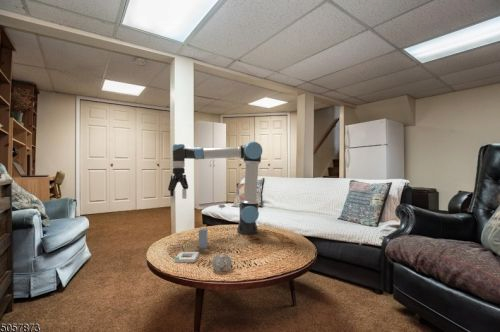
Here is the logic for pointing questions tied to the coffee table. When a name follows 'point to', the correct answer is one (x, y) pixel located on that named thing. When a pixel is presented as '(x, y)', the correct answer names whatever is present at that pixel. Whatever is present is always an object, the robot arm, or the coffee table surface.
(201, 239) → the plug
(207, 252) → the wooden rail base
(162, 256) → the coffee table surface
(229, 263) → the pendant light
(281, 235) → the coffee table surface
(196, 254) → the port
